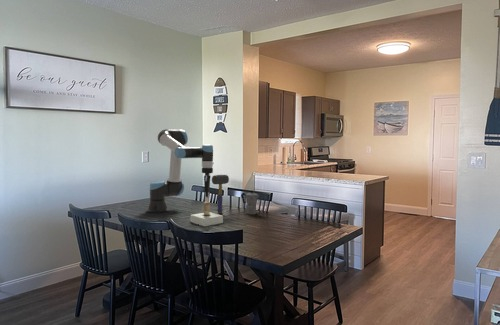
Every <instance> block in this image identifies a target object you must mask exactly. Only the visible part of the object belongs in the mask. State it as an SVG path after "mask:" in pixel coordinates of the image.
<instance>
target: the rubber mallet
mask: <svg viewBox="0 0 500 325" xmlns="http://www.w3.org/2000/svg"><path fill="white" fill-rule="evenodd" d="M211 182H212V185H218V195H217V211H216V212H217V213H218V214H222V213H223V185H226V184H228V183H229V182H230V178H229V175H228V174H217V175H216V174H215V175H212V177H211Z"/></svg>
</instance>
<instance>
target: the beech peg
mask: <svg viewBox="0 0 500 325" xmlns="http://www.w3.org/2000/svg"><path fill="white" fill-rule="evenodd" d="M210 207H211V202H210V201H209V202H206V201H204V202H203V213H204V216H210V212H211V211H210V210H211V208H210Z"/></svg>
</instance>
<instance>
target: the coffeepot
mask: <svg viewBox="0 0 500 325" xmlns="http://www.w3.org/2000/svg"><path fill="white" fill-rule="evenodd" d="M240 196H241V200H242V203H243V204H246V209H245V214H246V215H256V214H257V206H256V203H257V200H258V198H259V197H260V195H259V194H258V193H255V192H253V190H250V192H248V193H247V192H242V193H241V195H240ZM244 196H245V198H244ZM245 199H246V200H245ZM245 201H246V202H245Z"/></svg>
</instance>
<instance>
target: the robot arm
mask: <svg viewBox="0 0 500 325" xmlns="http://www.w3.org/2000/svg"><path fill="white" fill-rule="evenodd" d="M188 140H189V138H188V133H187V132H186V131H185V130H184V129H178V128H177V129H174V128H172V129H171V128H170V129H169V128H167V129H166V128H165V129H162V130H161V131H159V133H158V135H157V142H159V144H160V145H162V146H165V147H166V148H168V149H169V150H170V156H169V157H170V161H169V172H168V173H169V175H168V178H167V179H166V181H165V180H156V181H152V182H151V183H150V184H149V203H148V206H147V212H148V213H154V214H155V213H156V214H157V213H165V212H166V213H167V212H168V206H167V202H166V198H169V197H180V196H181V195H182V194H183V193H184V190H185V185H184V182H183V181H182V179H181V170H182V169H181V168H182V159H201V173H202V174H204V176H203V181H204V191H203V192H204V202H210V192H211V190H210V186H211V174H213V173H214V168H213V167H214V146H213V145H212V144H203V145H202V146H196V147H193V146H190V147H189V146H186V145H187V144H188Z"/></svg>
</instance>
